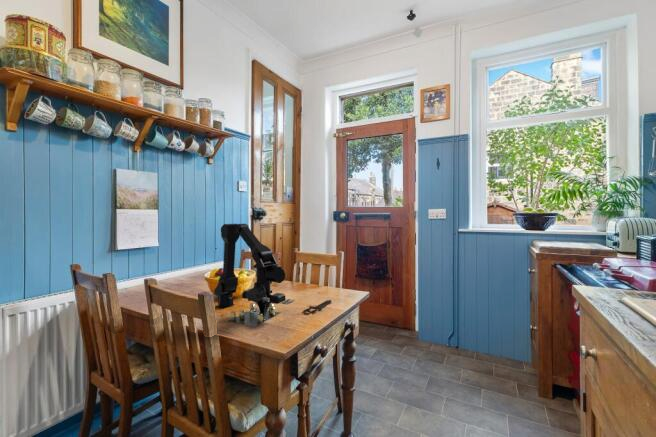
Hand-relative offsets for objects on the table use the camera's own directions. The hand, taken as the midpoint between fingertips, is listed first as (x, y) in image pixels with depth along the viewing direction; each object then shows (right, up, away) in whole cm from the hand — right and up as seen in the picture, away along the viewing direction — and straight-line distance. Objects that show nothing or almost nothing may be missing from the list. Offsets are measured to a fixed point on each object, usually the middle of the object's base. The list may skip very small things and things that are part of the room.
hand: (263, 316), depth 128 cm
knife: (+23, -2, +16) cm, 28 cm away
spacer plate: (-4, -1, +2) cm, 5 cm away
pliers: (+4, -2, +19) cm, 20 cm away
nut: (-4, -1, +2) cm, 4 cm away
